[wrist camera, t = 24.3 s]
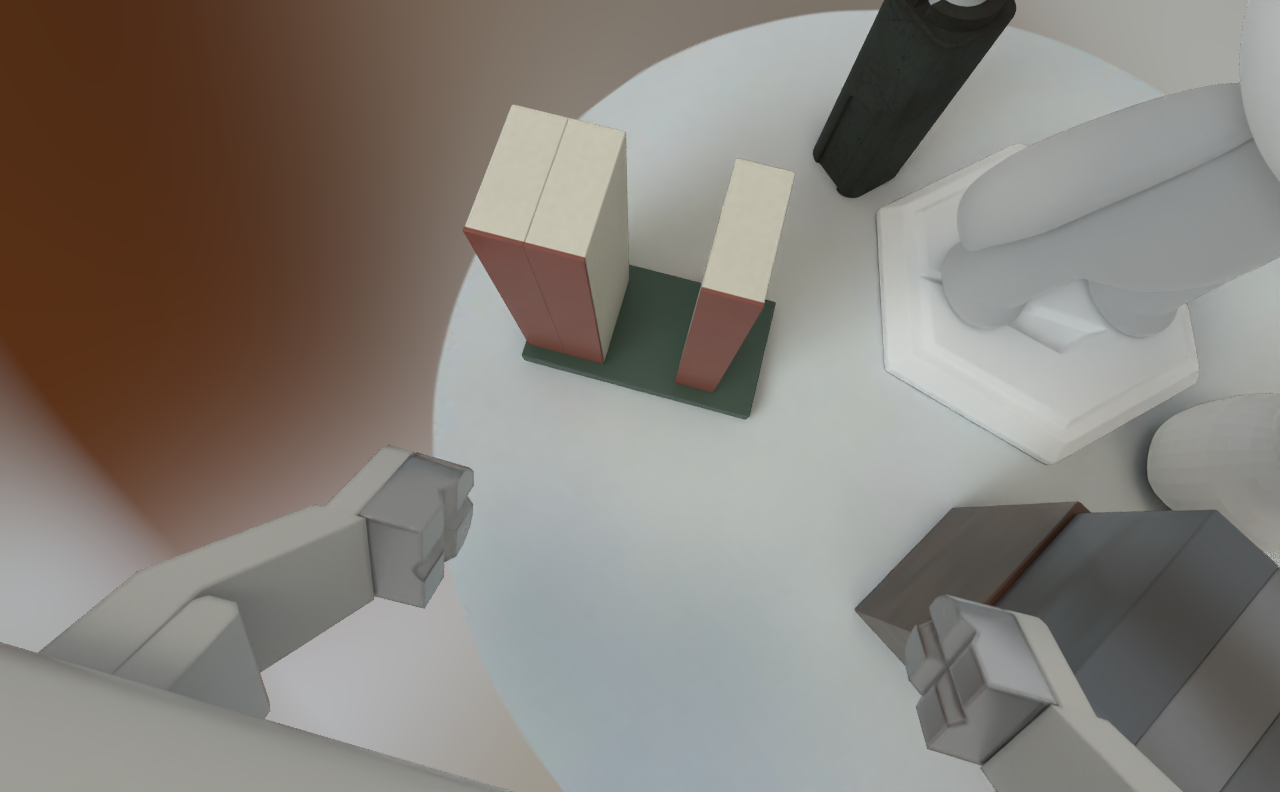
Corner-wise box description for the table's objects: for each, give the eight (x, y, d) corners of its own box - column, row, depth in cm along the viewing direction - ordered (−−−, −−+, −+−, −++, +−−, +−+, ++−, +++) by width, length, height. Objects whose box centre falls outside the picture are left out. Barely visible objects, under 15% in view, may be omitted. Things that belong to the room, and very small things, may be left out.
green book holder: (746, 419, 35) (824, 345, 21) (524, 360, 36) (449, 247, 21) (772, 307, 37) (861, 166, 22) (560, 253, 38) (513, 82, 23)
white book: (712, 392, 35) (763, 307, 21) (674, 382, 35) (700, 290, 21) (734, 305, 36) (796, 171, 22) (698, 295, 36) (736, 157, 23)
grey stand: (1080, 856, 30) (1566, 1217, 14) (853, 609, 33) (1052, 686, 17) (1178, 734, 31) (1715, 941, 16) (952, 507, 34) (1219, 492, 19)
